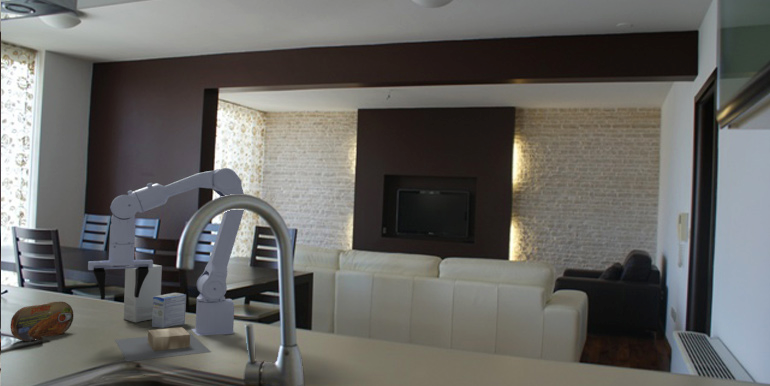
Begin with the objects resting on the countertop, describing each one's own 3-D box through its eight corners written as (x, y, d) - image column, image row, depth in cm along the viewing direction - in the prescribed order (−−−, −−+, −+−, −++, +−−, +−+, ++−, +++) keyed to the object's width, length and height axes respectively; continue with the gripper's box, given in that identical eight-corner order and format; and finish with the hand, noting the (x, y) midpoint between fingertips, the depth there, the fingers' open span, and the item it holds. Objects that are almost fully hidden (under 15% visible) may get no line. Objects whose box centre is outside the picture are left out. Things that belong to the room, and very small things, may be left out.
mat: (190, 334, 147) (190, 332, 147) (211, 354, 130) (211, 351, 130) (114, 342, 137) (114, 339, 137) (126, 364, 120) (126, 361, 120)
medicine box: (173, 322, 160) (175, 292, 160) (185, 324, 158) (186, 294, 158) (151, 328, 153) (152, 296, 153) (163, 330, 151) (164, 298, 151)
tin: (15, 344, 132) (17, 309, 132) (7, 343, 133) (8, 307, 133) (73, 332, 145) (75, 299, 146) (65, 330, 147) (66, 298, 147)
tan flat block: (147, 342, 136) (181, 339, 140) (153, 350, 129) (189, 347, 133) (148, 330, 136) (182, 327, 140) (154, 337, 129) (190, 334, 133)
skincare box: (148, 315, 168) (151, 263, 168) (161, 318, 164) (163, 265, 164) (121, 319, 161) (124, 265, 161) (134, 323, 157) (137, 267, 158)
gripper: (150, 241, 147) (148, 293, 147) (88, 242, 139) (85, 296, 139) (155, 244, 141) (153, 298, 141) (90, 244, 133) (88, 301, 133)
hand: (119, 297), depth 139 cm, fingers open, 7 cm apart
